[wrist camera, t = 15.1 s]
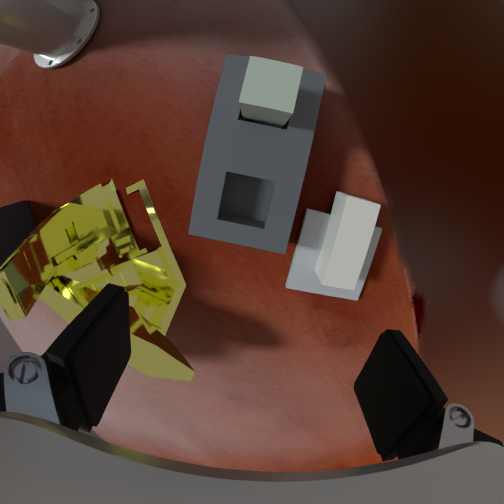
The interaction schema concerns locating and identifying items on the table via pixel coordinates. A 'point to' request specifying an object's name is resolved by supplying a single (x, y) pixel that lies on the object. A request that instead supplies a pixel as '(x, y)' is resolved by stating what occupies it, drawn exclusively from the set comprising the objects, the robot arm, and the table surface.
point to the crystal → (101, 274)
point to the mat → (308, 254)
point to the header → (253, 165)
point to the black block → (14, 227)
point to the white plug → (346, 240)
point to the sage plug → (269, 91)
